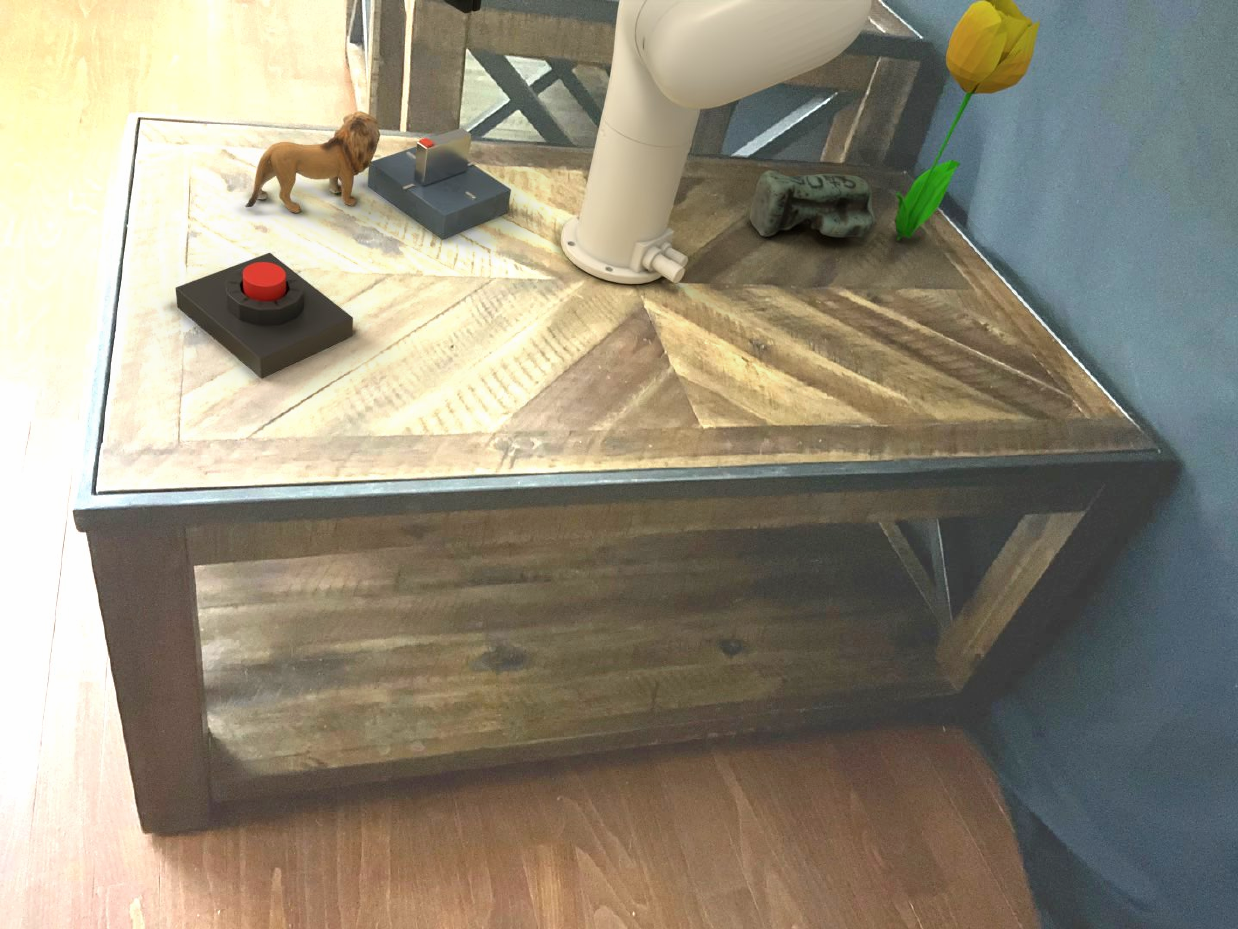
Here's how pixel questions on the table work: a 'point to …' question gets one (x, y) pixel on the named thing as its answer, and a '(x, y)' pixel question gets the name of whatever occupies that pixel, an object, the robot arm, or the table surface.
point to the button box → (264, 318)
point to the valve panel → (439, 194)
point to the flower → (972, 88)
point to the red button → (264, 281)
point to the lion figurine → (320, 160)
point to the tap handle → (442, 156)
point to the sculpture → (813, 204)
